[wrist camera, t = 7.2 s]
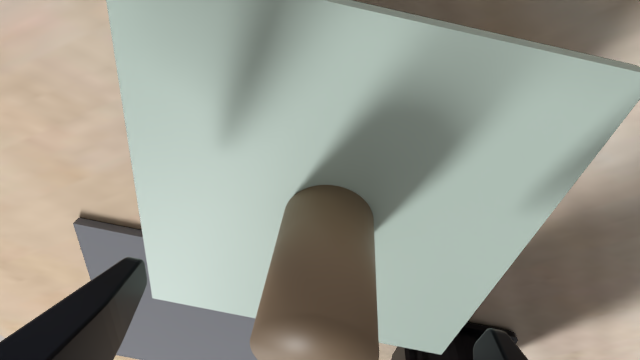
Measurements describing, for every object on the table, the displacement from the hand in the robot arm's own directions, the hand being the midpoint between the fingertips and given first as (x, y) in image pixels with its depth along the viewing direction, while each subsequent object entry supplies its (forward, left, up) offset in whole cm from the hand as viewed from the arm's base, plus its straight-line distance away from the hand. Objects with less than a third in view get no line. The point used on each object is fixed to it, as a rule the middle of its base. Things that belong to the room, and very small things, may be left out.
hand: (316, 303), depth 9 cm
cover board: (0, 0, -4) cm, 4 cm away
